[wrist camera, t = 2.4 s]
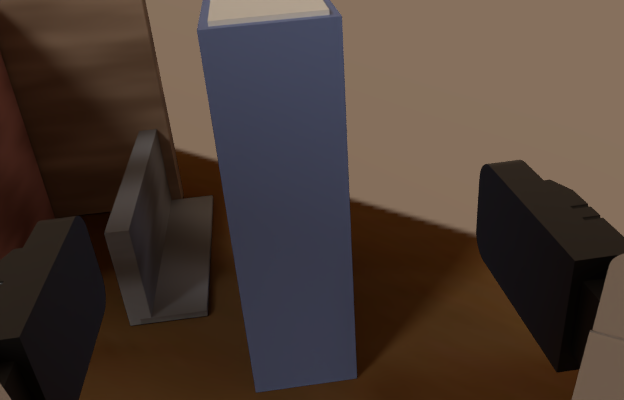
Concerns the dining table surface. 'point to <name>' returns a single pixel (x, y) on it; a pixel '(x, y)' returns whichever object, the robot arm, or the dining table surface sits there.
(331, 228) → the boxed book
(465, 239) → the dining table surface
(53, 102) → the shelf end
